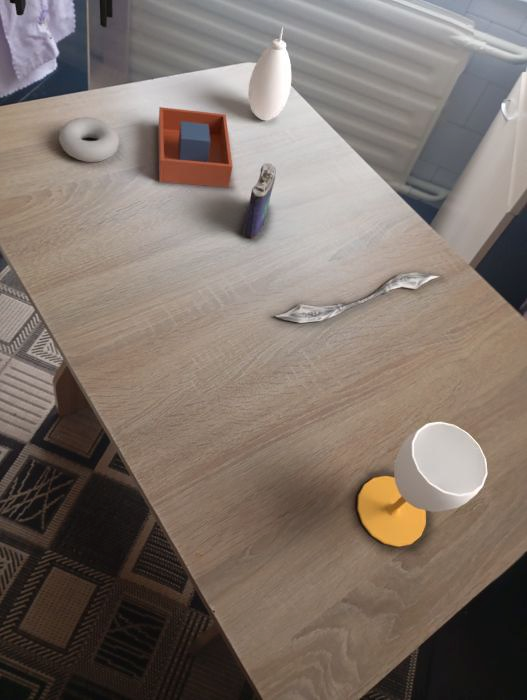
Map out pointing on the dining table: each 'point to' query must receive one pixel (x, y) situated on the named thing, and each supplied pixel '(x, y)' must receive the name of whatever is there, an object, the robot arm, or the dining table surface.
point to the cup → (422, 483)
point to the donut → (89, 149)
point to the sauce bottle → (270, 81)
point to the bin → (194, 171)
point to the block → (194, 141)
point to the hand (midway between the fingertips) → (63, 16)
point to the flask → (259, 202)
